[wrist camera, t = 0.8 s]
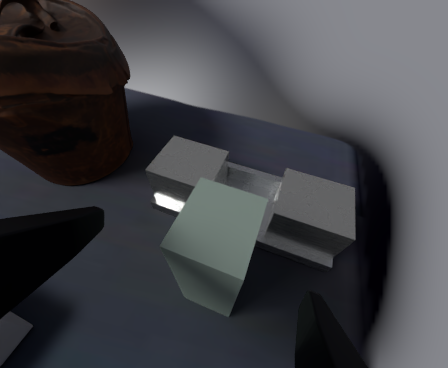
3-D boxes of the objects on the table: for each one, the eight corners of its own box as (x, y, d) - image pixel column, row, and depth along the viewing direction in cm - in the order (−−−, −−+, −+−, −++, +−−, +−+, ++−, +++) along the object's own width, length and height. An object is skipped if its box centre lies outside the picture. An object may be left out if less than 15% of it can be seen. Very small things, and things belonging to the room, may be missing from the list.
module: (228, 317, 20) (243, 280, 10) (184, 297, 21) (159, 246, 11) (244, 265, 23) (268, 198, 13) (205, 250, 24) (200, 177, 14)
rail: (326, 272, 23) (358, 248, 18) (152, 208, 27) (138, 173, 22) (330, 211, 27) (357, 179, 22) (183, 165, 31) (177, 128, 26)
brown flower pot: (107, 101, 41) (50, -31, 27) (177, 153, 33) (149, 5, 19) (-2, 148, 32) (-172, -9, 18) (58, 232, 25) (-157, 73, 10)
